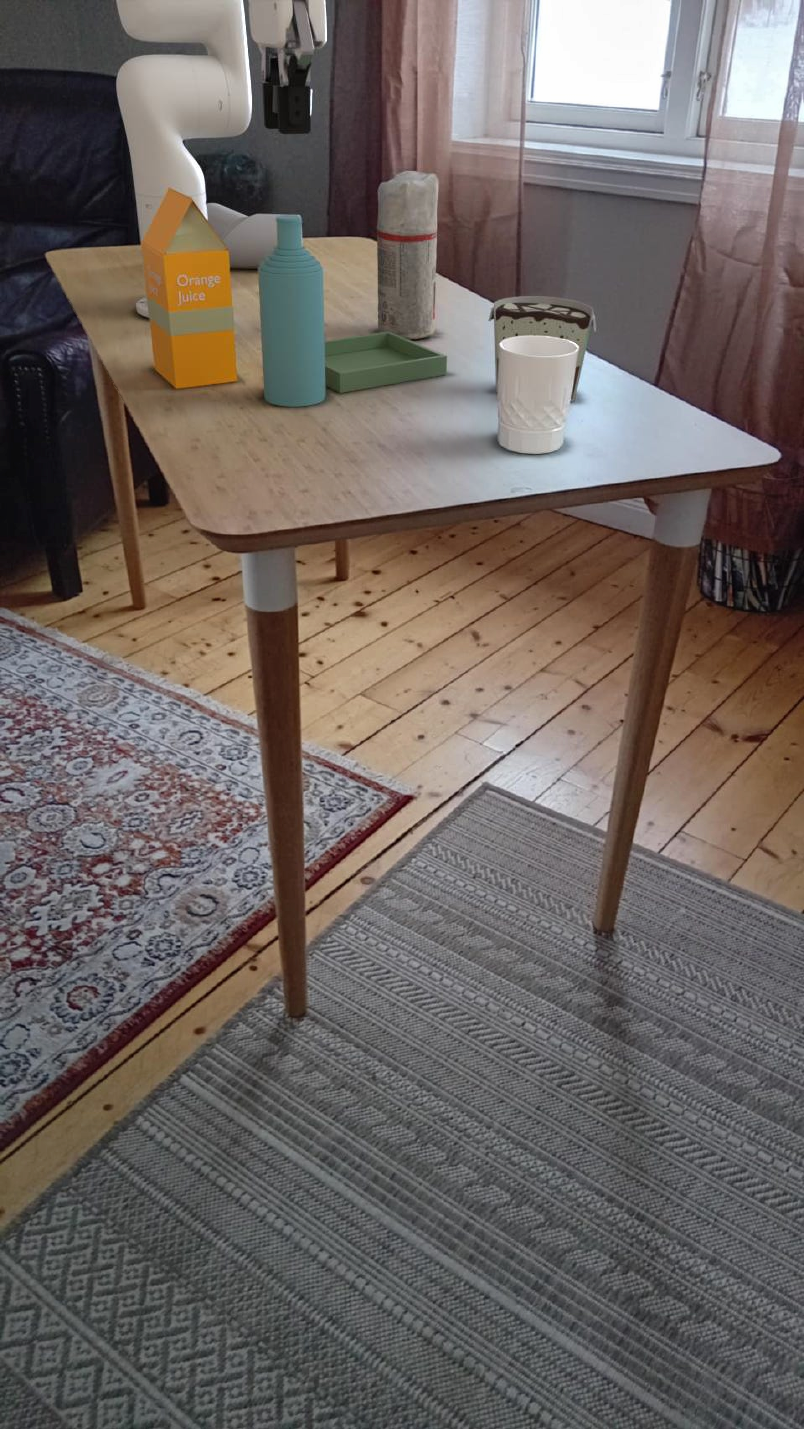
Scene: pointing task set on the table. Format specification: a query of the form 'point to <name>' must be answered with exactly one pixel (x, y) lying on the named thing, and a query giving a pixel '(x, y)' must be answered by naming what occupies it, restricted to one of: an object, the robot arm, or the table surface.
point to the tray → (378, 361)
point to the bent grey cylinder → (244, 234)
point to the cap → (276, 99)
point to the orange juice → (188, 296)
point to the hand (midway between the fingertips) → (287, 128)
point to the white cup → (534, 392)
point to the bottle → (292, 320)
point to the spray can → (407, 254)
